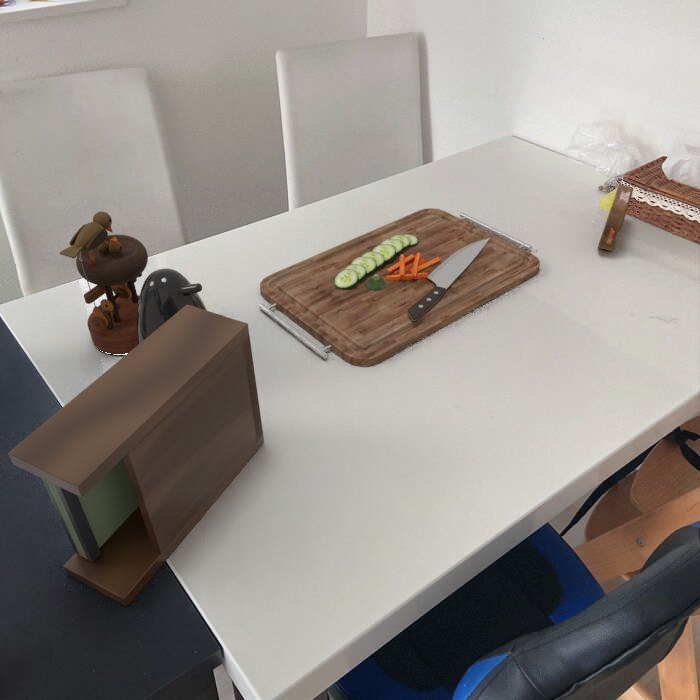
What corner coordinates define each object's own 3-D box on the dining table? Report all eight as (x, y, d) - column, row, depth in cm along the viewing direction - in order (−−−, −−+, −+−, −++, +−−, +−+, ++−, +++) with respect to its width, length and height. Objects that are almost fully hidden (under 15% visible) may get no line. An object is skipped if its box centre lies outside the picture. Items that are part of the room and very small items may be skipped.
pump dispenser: (197, 397, 89) (177, 302, 79) (130, 380, 92) (102, 286, 82) (234, 351, 96) (219, 258, 87) (171, 336, 99) (149, 245, 90)
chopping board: (441, 206, 129) (442, 192, 127) (556, 263, 113) (560, 247, 111) (240, 294, 107) (237, 278, 105) (348, 380, 91) (347, 362, 89)
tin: (607, 217, 125) (618, 174, 120) (625, 221, 124) (637, 177, 118) (594, 257, 114) (605, 211, 109) (613, 261, 113) (625, 215, 108)
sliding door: (75, 553, 68) (30, 456, 59) (147, 477, 76) (118, 381, 67) (93, 562, 68) (50, 465, 59) (164, 485, 75) (136, 388, 66)
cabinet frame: (66, 574, 69) (7, 452, 57) (210, 421, 85) (187, 304, 74) (127, 607, 66) (77, 486, 54) (264, 442, 82) (248, 323, 71)
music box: (150, 366, 94) (103, 238, 81) (77, 365, 96) (20, 240, 83) (186, 303, 106) (150, 183, 93) (121, 302, 107) (76, 185, 95)
